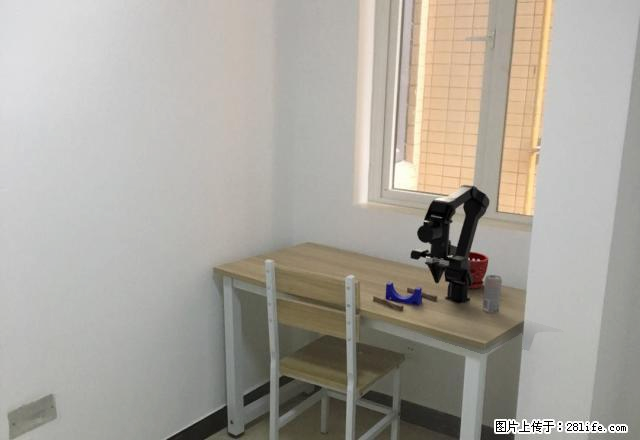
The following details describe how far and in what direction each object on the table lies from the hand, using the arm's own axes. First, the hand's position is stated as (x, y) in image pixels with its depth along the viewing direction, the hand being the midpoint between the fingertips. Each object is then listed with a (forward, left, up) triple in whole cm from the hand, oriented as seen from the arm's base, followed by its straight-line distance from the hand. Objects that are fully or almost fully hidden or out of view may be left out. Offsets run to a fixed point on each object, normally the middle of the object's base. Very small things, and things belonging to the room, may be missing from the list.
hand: (437, 282), depth 199 cm
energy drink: (-11, -16, -10) cm, 22 cm away
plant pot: (+11, -33, -10) cm, 36 cm away
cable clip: (+13, +1, -10) cm, 17 cm away
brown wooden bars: (+13, 0, -10) cm, 17 cm away
